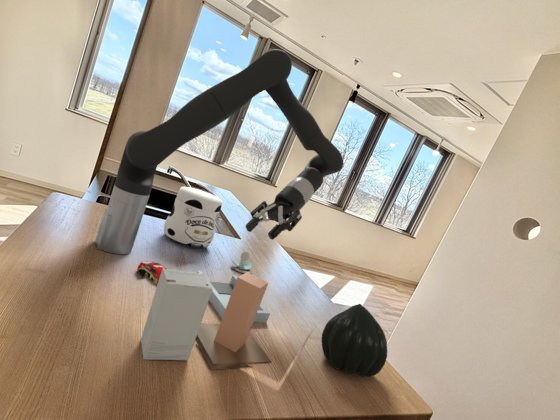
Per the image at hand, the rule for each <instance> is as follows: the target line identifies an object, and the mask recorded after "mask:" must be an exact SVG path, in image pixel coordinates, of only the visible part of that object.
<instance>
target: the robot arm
mask: <svg viewBox="0 0 560 420" xmlns="http://www.w3.org/2000/svg"><path fill="white" fill-rule="evenodd" d="M292 67H293V63H292V59H291V57H290V56H289V54H288V53H287V52H286V51H284V50H283V49H278V48H275V49H274V48H273V49H269V50H267V51H266V52H264V53H263V54H262V55H260V56H259V57H257V59H255V61H253V62H252V63H250V64H249V65H247V67H245V68H244V69H242V70H241V71H239V72H237V73H235V74H233V75H232V76H230V77H227V78H225V79H224V80H222V81H220V82H218V83H217V84H214V85H213V86H211V87H209V88H208V89H206V90H204V91H203V92H201V93H200V94H198V95H196V96H195V97H194V98H192V99H190V100H189V101H188V102H186V104H185V105H183V106H182V107H181V108H180V109H179V110H178V111H177V112H175V114H174V115H173V116H172V117H170V118H169V119H166V121H164V122H163V123H161V124H158V125H157V126H155V127H153V128H151V129H149V130H146V131H145V130H142V131H137V132H135V133H134V132H133V134H131V135H130V136H129V138H128V139H127V141H126V144H125V146H124V147H125V148H124V150H123V154H122V156H121V161H120V163H119V167H118V169H117V174H116V178H115V181H114V185H113V188H112V191H111V195H110V198H109V202H108V205H107V208H105V209H104V211H103V214H102V217H101V220H100V224H99V227H98V230H97V234H96V237H95V245H96V248H97V250H102V251H104V252H107V253H112V254H117V255H129V254H131V252H132V251H133V247H134V245H135V242H136V238H137V235H138V232H139V229H140V225H141V223H142V220H143V216H144V213H145V211H146V207H147V203H148V201H149V198H150V194H151V191H152V189H153V183H154V179H155V174H156V171H157V168H158V166H159V165H160V164H162V162H164V161H165V160H166V159H167V158H168V157H170V155H172V154H173V153H175V152H176V151H177V150H178V149H180V148H181V147H182V146H184V145H185V144H187V143H189V142H190V141H192V140H195V139H196V138H197V137H200V136H202V135H204V134H205V133H207V132H208V131H210V130H212V129H214V128H215V127H217V126H218V125H220V124H222V123H224V122H225V121H226V120H227V119H229V118H230V117H232V116H233V115H234V114H236V113H237V112H238V111H239V110H240V109H242V108H243V107H244V106H245V105H246V104H247V103H248V102H249V101H251V99H253V98H254V97H256V96H257V95H259V94H260V93H262V92H264V91H265V92H266V93H267V94H268V95H269V96H270V98H271V99H272V100H273V102H274V103H275V104H276V106H277V107H278V109H279V110H280V111H281V112H282V114H283V116H284V117H285V119H286V120H287V122H288V123H289V125H290V127H291V128H292V130H293V131H294V134H295V135H296V137H297V139H298V140H299V142H300V143H301V145H302V147H303V148H304V150H306V151H313V152H315V153H316V155H314V156H313V157H312V158H311V159H310V160H309V161H308V162H307V164H306V166H305V167H304V169H303V170H302V171H301V172H300V173H299V174H298V175H297V176H296V177H295V178H294V179H292V180H291V181H290V182H289V183H287V184H286V186H284V187H283V188H282V190H281V191H279V193H277V194H276V195H275V198H274V201H273V202H271V203H270V204H269V203H267V201H265V200H264V201H262V202H261V203H260V204H259V205H258V206H257V207H255V208H253V210H252V211H251V212H250V213H249V214H250V216H251V219H250V220H249V221H248V222H247V223H246V224H245V228H246V231H247V232H248V233H251V232H252V231H253V230H254V229H255V228H256V227H258V225H259V224H260V223H262V222H265V223H266V222H268V221H271V222H272V221H275V222H277V223H278V224H274V225H275V226H273V227H272V228H271V229H270V230H269V231H268V234H267V235H268V238H269V239H270V240H275V239H276V238H277V237H278V236H279V235H280V234H281V233H282V232H284V231H288V232H291V231H292V230H294V228H295V227H296V226H297V224H299V222H300V221H301V220H302V219H303V216H302V214H301V209H303V207H304V206H305V205H306V204H307V203H308V202H309V201H311V198H312V197H313V195H314V194H315V193H316V192H317V191H318V190H319V189H320V188H321V187H322V185H323V183H324V178H326V176H330V175H332V174H336V173H338V172H340V171H341V170H342V169H343V167H344V158H343V155H342V153H341V152H340V150H339V149H338V148H337V146H335V145H334V144H333V143H332V142H331V140H330V139H328V138H327V137H326V136H325V134H324V132H323V131H322V129H321V128H320V126H319V124H318V122H317V121H316V119H315V118H314V116H313V115H312V113H311V112H310V110H309V109H308V108H306V106H304V105H303V103H302V102H301V101H300V100H299V99H298V98H297V97H296V95H295V93H294V92H293V90H292V89H291V87H290V84H289V82H288V80H287V79H288V78H289V77H290V74H291V72H292ZM266 214H267V216H266Z"/></svg>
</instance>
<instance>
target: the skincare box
mask: <svg viewBox="0 0 560 420" xmlns="http://www.w3.org/2000/svg"><path fill="white" fill-rule="evenodd" d="M208 280H209V279H208V277H207V275H206V273H203V274H202V273H197V272H192V271H183V270H177V269H170V268H169V269H168V268H167V269H164V268H163V269H162V272H161V275H160V278H159V282H158V284H156V285H157V286H156V288H155V292H154V295H153V299H152V301H151V304H150V308H149V311H148V314H147V318H146V321H145V324H144V327H143V328H144V329H143V331H142V334H141V338H140V343H141V352H142V359H143V360H149V361H150V360H155V361H156V360H158V361H160V360H161V361H189V359H190V357H191V354H192V351H193V347H194V344H195V342H196V340H195V339H196V336H197V333H198V330H199V327H200V324H201V323H203V322H202V321H203V319H204V316H205V312H206V310H207V307H208V304H209V302H210V301H209V298H210V296H211V293H212V291H213V288H212V287H211V285H210V283H209V281H210V280H209V281H208Z"/></svg>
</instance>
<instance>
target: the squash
mask: <svg viewBox="0 0 560 420" xmlns="http://www.w3.org/2000/svg"><path fill="white" fill-rule="evenodd" d="M321 347H322V352H323V355H324V357H325V358H326V359H327V361H329V362H330V364H331V366H332V367H333V368H335V369H337V370H344V371H346V372H347V373H349V374H353V373H356V374H357V375H359V376H361V377H364V378H365V377H366V378H370V377H374V376H376V375H378V374H379V373H380V372H381V371H382V369H383V368H384V366H385V364H386V361H387V358H388V342H387V338H386V334H385V332H384V329H383V328H382V327H381V325H380V323H379V322H378V321H377V320H376V319H375V317H374V316H373V314H371V312H370V311H369V310H368V309H367V308H366V307H365V306H363V305H362V304H361V303H358V304H354V305H352V306H350V307H349V308H347V309H345V310H343V311H341V312H339V313H337V314H336V315H334V316H333V317H331V319H329V320H328V322H326V324H325V326H324V327H323V330H322V334H321Z"/></svg>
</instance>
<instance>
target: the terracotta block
mask: <svg viewBox="0 0 560 420" xmlns="http://www.w3.org/2000/svg"><path fill="white" fill-rule="evenodd" d="M268 284H269V282H268V281H267V280H264V279H262V278H261V277H259V276H256V275H254V274H252V273H248V272H247V273H242V274H240V275H239V276H237V280H236V283H235V285H234V288H233V291H232V293H231V296H230V299H229V302H228V304H227V307H226V310H225V312H224V315H223V318H221V321H220V323H219V324H220V326H219V328H218V331H217V334H216V336H215V339H214V341H216V342H218V343H219V344H221V345H223V346H225V347H226V348H228V349H230V350H232V351H234V352H235V353H236V352H237V351H238V350H239V349H240V348H241V347H242V346H243V345H244V344H245V343H246V340H247V337H248V335H249V332H250V333H251V330H252V326H253V324H254V323H255V322H254V319H255V317H256V314H257V311H258V309H259V306H260V304H262V300H263V298H264V295H265V294H266V290H267V288H268Z"/></svg>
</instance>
